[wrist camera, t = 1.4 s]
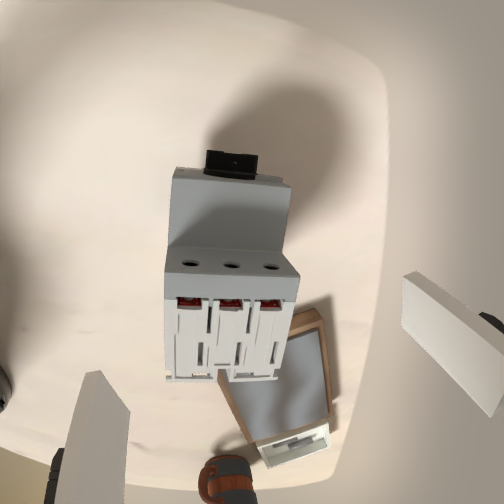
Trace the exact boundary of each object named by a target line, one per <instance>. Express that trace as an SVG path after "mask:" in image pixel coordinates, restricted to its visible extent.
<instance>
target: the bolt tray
mask: <svg viewBox="0 0 504 504" xmlns="http://www.w3.org/2000/svg"><path fill="white" fill-rule="evenodd" d="M256 446H257V448H258V450H259V452H260V454H261V456H262V458H263V460H264V462H265V464H266V466H267V468H268V469H269V468H272V467H276V466H279V465H282V464H285V463H288V462H291V461H294V460H297V459H300V458H303V457H306V456H309V455H311V454H314V453H317V452H319V451H322V450H325V449H327V448H330V447H331V444H330V433H329V423H328V421H327V419H326V418H324V419H322V420H319V421H316V422H314V423H311V424H308V425H306V426H303V427H300V428H297V429H295V430H292V431H289V432H286V433H283V434H280V435H276V436H273V437H270V438H267V439H264V440H260V441H257V442H256Z"/></svg>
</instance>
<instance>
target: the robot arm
mask: <svg viewBox="0 0 504 504" xmlns="http://www.w3.org/2000/svg"><path fill="white" fill-rule="evenodd" d="M401 326H402V327H403V328H404V329H405V330H406V331H407V332H408V333H409V334H410V335H411V336H412V337H413V338H414V339H415V340H416V341H417V342H418V343H419V344H420V345H421V346H422V347H423V348H424V349H425V350H426V351H427V352H428V353H429V354H430V355H431V356H432V357H433V358H434V359H435V360H436V361H437V362H438V363H439V364H440V365H441V366H442V367H443V368H444V369H445V371H446V372H447V373H448V374H449V375H450V376H451V377H452V378H453V379H454V380H455V381H456V382H457V383H458V384H459V385H460V386H461V387H462V388H463V389H464V390H465V391H466V393H468V395H469V396H470V397H471V398H472V399H473V400H474V401H475V402H476V403H477V404H478V405H479V407H480V408H481V409H482V410H483V411H484V412H485V413H486V414H487V415H488V416H489V417H490V418H492V417H493V416H494V415H495V414H496V413H497V412H499V411H500V410H501V409H502V408H503V407H504V325H503V323H502V322H501V321H500V320H498V319H497V318H496V317H494V316H492V315H489V314H487V313H484V312H482V313H480V314H477V313H475V312H474V311H472V310H471V309H470V308H468V307H467V306H466V305H464V304H463V303H462V302H460V301H459V300H458V299H456V298H455V297H453V296H452V295H450V294H449V293H448V292H446V291H445V290H443V289H442V288H441V287H439V286H438V285H436V284H435V283H433V282H432V281H431V280H429V279H428V278H426V277H425V276H423V275H422V274H420V273H419V272H417V271H415V272H413V273H410V274H408V275H405V276H404V277H403V304H402V324H401ZM10 398H11V387H10V384H9V381H8V379H7V377H6V375H5V373H4V371H3V370H2V368H1V367H0V413H1V412H2V411H4V410H5V408H6V407H7V404H8V402H9V400H10ZM129 420H130V411H129V410H128V408H127V407H126V406H125V404H124V403H123V402H122V400H121V399H120V398H119V396H118V395H117V394H116V392H115V391H114V389H113V388H112V387H111V385H110V384H109V382H108V381H107V379H106V378H105V376H104V375H103V373H102V372H101V371H100V370H99V371H94V372H89V373H86V374H85V377H84V380H83V383H82V386H81V390H80V393H79V396H78V400H77V403H76V407H75V410H74V414H73V418H72V421H71V425H70V429H69V433H68V437H67V441H66V445H65V448H59V449H58V451H57V452H56V454H55V456H54V457H53V460H52V464H51V469H50V470H51V472H50V474H49V478H48V479H49V481H48V483H47V489H46V494H45V500H44V504H124V485H125V467H126V453H127V441H128V430H129Z"/></svg>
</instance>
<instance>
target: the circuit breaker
mask: <svg viewBox="0 0 504 504" xmlns="http://www.w3.org/2000/svg"><path fill="white" fill-rule="evenodd" d="M257 162H258V155H250V154H232V153H224V152H223V151H213V150H207V155H206V166H205V168H204V169H198V168H185V167H176V169H175V171H174V174H173V177H172V187H171V200H170V215H169V232H168V249H167V256H166V263H165V272H164V342H165V370H172V376H166V382H217V374H218V369H226V372H227V376H228V379H229V382H247V381H266V380H277V379H278V376H277V374H274V369H279V368H280V367H281V363H282V359H283V354H284V350H285V346H286V342H287V337H288V333H289V329H290V324H291V320H292V315H293V311H294V306H295V302H296V297H297V292H298V288H299V283H300V274H299V273H298V272H297V271H296V270H295V268H294V267H293V266H292V265H291V264H290V262H289V261H288V260H287V259H286V258H285V256H284V255H283V254H282V248H283V242H284V236H285V230H286V224H287V217H288V211H289V204H290V198H291V191H292V188H291V187H289V186H287V185H285V184H283V183H282V180H283V178H280V177H273V176H265V175H260V174H257V173H256V170H257ZM193 373H207V376H197V375H193ZM236 373H249V375H237V374H236Z"/></svg>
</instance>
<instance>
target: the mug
mask: <svg viewBox="0 0 504 504" xmlns="http://www.w3.org/2000/svg"><path fill="white" fill-rule="evenodd" d="M252 482H253V480H252V474H251V469H250V466H249V463H248V462H247V461H245V460H244V459H243V458H241V457H238V456H220V457H216V458H214V459H211V460H210V461H208V462H207V463H206V464H205V467H204V468H203V469H202V470H201V472H200V475H199V480H198V489H199V494H200V496H201V498H202V500H203V501H204V502H205V503H207V504H258V503H257V498H256V493H255V492H254V490H253V486H252ZM208 492H209V493H208Z"/></svg>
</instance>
